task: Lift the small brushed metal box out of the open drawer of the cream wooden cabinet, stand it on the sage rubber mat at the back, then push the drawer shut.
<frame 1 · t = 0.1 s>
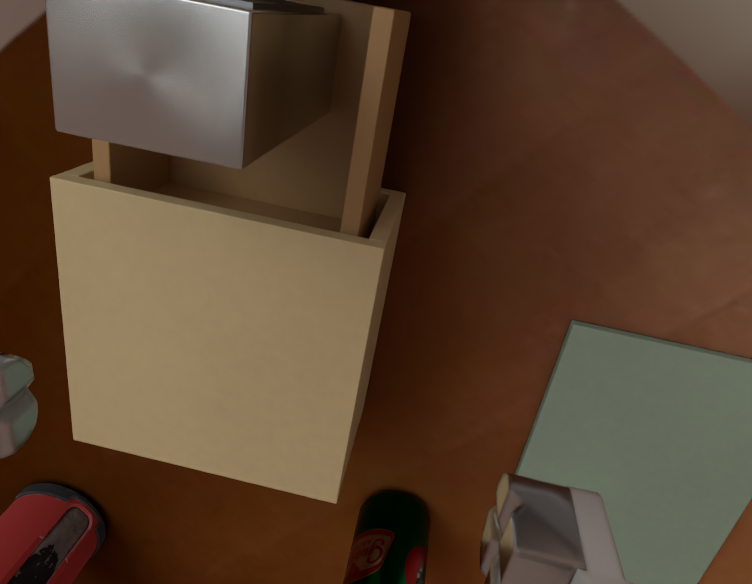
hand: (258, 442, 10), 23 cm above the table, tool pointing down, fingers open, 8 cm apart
cabinet: (265, 283, 35), on the table
soda can: (395, 510, 42), on the table
mat: (630, 476, 37), on the table
brushed metal box: (274, 53, 27), point 2 cm above the table, touching drawer
speaker: (66, 513, 47), on the table
drawer: (260, 31, 25), point 4 cm above the table, slide at 10.0 cm, touching brushed metal box
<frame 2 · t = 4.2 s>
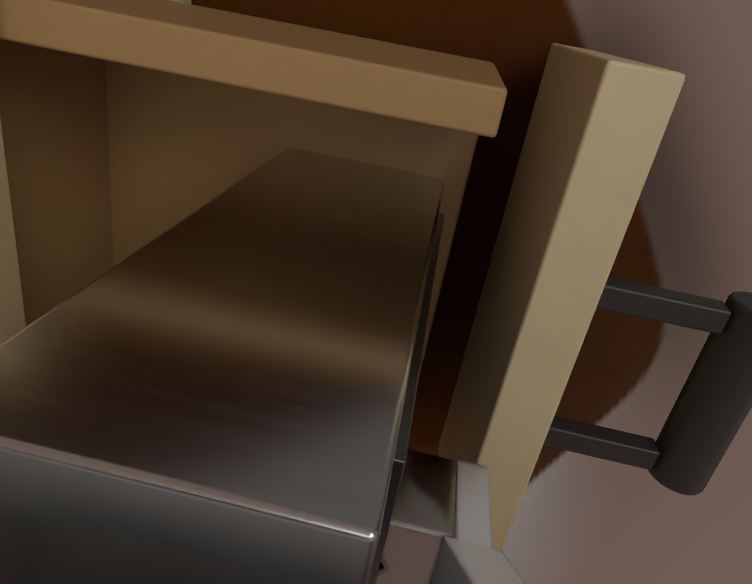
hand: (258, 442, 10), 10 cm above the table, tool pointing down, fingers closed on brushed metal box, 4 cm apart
brushed metal box: (349, 261, 17), point 2 cm above the table, touching drawer, gripper
drawer: (370, 303, 15), point 4 cm above the table, slide at 10.0 cm, touching brushed metal box
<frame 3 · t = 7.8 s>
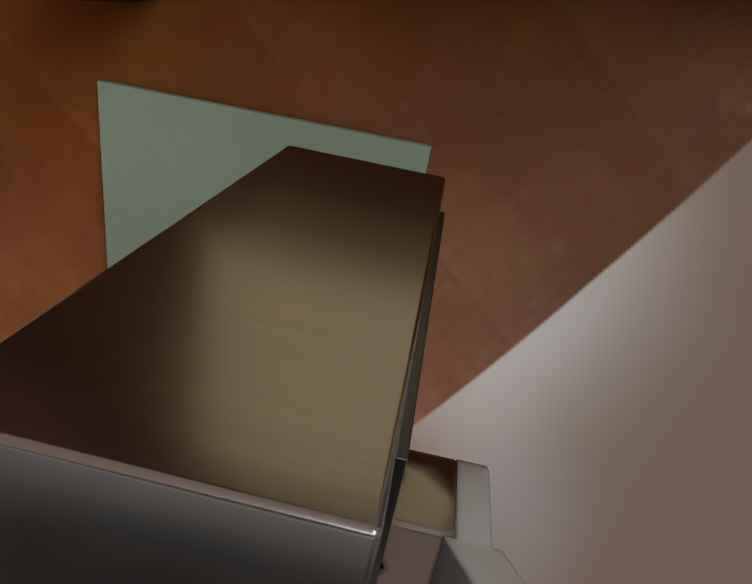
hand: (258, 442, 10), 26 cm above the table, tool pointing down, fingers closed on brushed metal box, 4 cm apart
mat: (255, 223, 37), on the table
brushed metal box: (350, 260, 17), point 18 cm above the table, touching gripper
when the fingers open (9 cm above the table, at t = 11.2 s): brushed metal box stays where it is, resting on mat.
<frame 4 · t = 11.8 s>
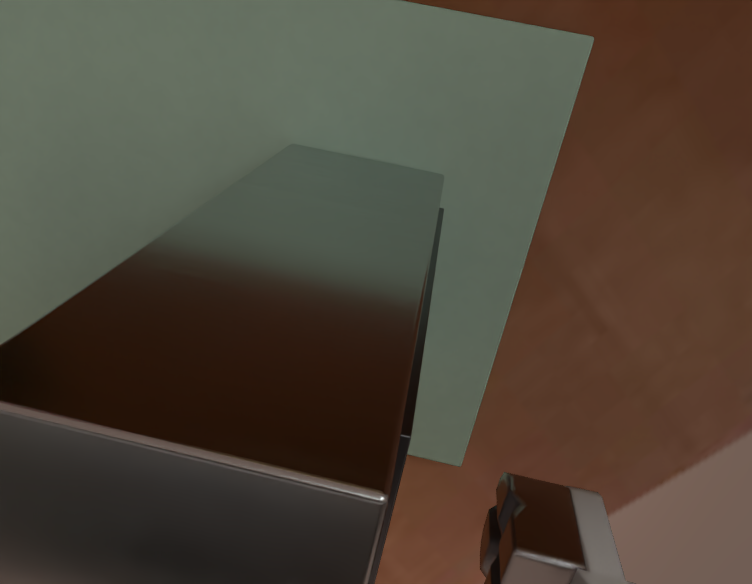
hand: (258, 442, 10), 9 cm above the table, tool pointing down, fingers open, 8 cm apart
mat: (200, 215, 18), on the table
brushed metal box: (351, 256, 17), point 1 cm above the table, touching mat
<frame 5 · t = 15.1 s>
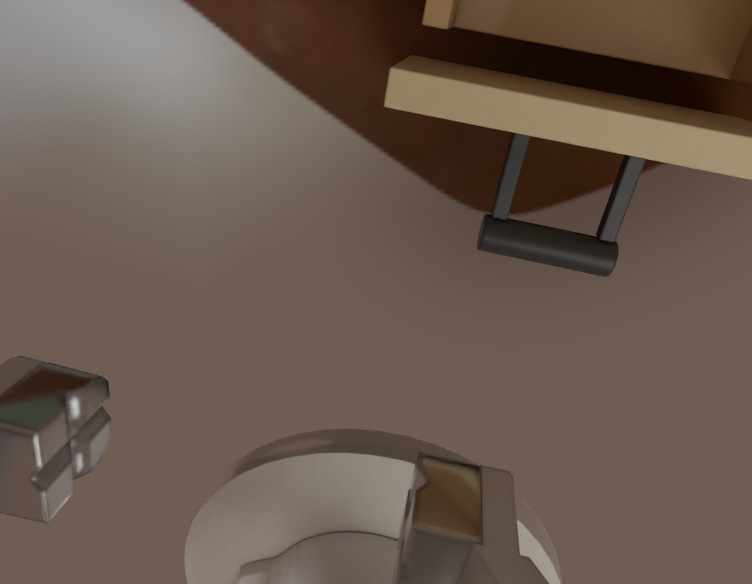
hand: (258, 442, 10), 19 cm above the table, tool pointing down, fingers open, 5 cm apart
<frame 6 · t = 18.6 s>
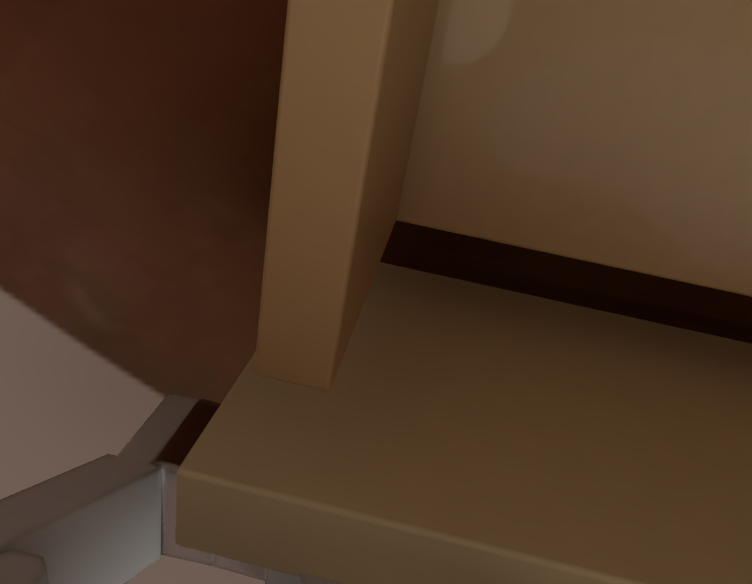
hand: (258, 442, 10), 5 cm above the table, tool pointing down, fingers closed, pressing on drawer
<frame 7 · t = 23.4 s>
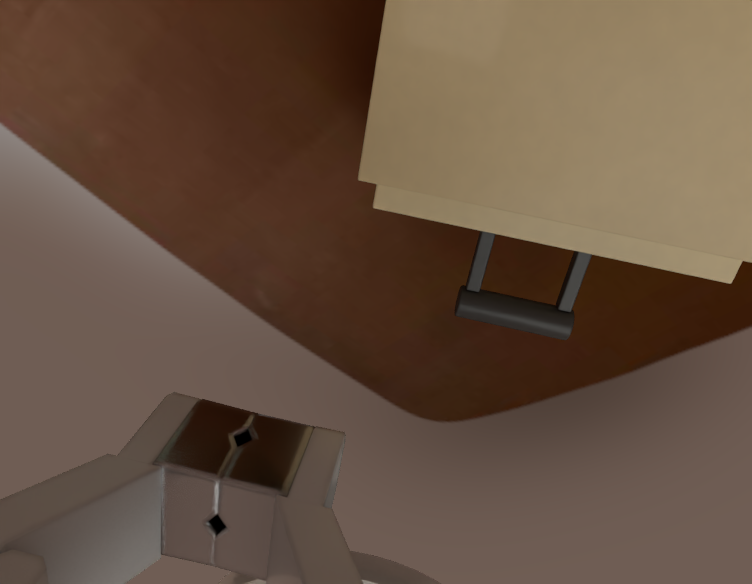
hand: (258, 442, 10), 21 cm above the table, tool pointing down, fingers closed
drawer: (571, 114, 22), point 4 cm above the table, slide at 0.0 cm, touching cabinet
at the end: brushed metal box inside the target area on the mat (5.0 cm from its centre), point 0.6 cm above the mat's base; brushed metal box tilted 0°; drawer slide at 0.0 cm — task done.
